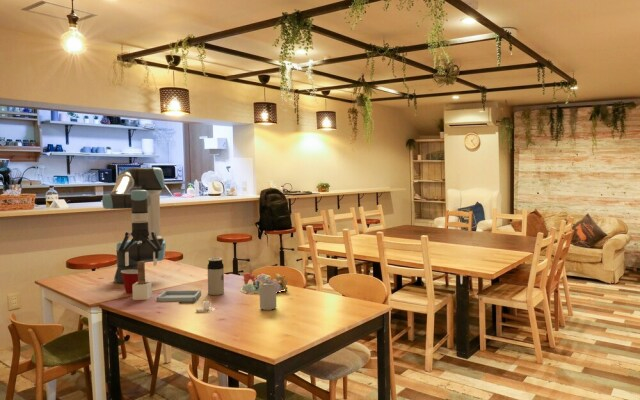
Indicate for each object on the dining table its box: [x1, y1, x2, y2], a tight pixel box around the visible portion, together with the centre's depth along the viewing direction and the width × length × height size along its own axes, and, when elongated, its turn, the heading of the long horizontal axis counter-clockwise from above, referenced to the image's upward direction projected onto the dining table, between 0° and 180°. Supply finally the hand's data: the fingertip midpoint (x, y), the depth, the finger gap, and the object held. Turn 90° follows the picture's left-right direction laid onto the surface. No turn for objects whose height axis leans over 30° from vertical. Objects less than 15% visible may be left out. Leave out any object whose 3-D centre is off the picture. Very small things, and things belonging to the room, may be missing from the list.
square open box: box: [132, 281, 153, 301], centre depth 243 cm, size 7×7×8 cm
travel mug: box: [207, 257, 225, 296], centre depth 253 cm, size 8×8×18 cm
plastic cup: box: [121, 270, 138, 295], centre depth 255 cm, size 11×11×12 cm
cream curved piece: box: [195, 300, 216, 313], centre depth 224 cm, size 9×8×4 cm
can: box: [259, 282, 277, 311], centre depth 225 cm, size 8×8×12 cm
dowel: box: [138, 261, 146, 285], centre depth 242 cm, size 3×3×18 cm
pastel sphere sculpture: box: [240, 272, 288, 295], centre depth 262 cm, size 25×24×9 cm
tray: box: [156, 289, 202, 304], centre depth 244 cm, size 14×18×2 cm
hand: (141, 265), depth 241 cm, fingers open, 13 cm apart
